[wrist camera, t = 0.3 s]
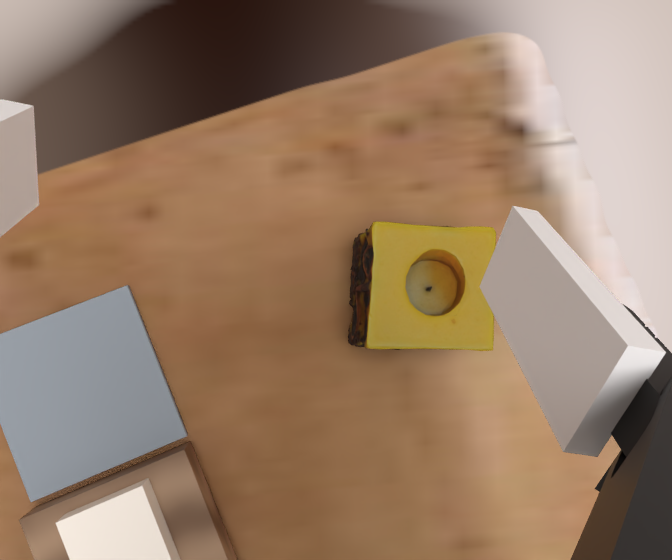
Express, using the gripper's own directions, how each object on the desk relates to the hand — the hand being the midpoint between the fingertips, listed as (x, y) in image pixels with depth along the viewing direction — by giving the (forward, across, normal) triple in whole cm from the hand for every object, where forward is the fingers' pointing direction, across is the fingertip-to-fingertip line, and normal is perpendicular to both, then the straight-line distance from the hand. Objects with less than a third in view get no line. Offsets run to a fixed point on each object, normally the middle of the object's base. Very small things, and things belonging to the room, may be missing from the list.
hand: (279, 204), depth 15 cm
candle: (+29, -13, +18) cm, 37 cm away
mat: (+22, +14, +30) cm, 40 cm away
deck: (+16, +7, +40) cm, 43 cm away
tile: (+13, +7, +38) cm, 41 cm away
